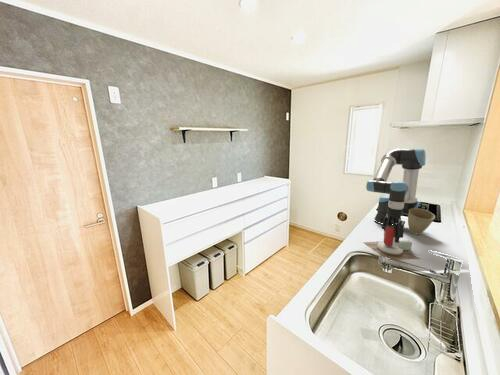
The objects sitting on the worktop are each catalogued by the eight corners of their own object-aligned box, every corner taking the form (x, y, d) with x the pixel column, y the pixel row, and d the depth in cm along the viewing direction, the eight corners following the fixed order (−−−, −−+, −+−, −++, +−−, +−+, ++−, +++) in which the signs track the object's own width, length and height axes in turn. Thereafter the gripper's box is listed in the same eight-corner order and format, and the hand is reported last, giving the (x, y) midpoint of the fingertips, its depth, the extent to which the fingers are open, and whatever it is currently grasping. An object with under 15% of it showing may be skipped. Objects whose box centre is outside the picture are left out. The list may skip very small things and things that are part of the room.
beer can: (391, 242, 127) (394, 224, 125) (399, 247, 120) (402, 228, 118) (381, 242, 126) (383, 224, 124) (388, 247, 120) (391, 228, 118)
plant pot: (404, 234, 151) (410, 216, 144) (402, 223, 162) (407, 206, 156) (430, 239, 144) (437, 221, 137) (425, 228, 156) (432, 210, 149)
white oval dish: (387, 255, 117) (388, 247, 116) (372, 244, 130) (373, 237, 129) (418, 254, 118) (420, 246, 118) (400, 244, 131) (402, 236, 130)
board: (362, 243, 134) (363, 233, 133) (391, 243, 136) (392, 233, 134) (386, 261, 113) (388, 249, 111) (420, 260, 114) (422, 248, 113)
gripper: (377, 203, 128) (373, 237, 133) (402, 213, 109) (396, 252, 113) (389, 203, 129) (384, 237, 133) (415, 212, 110) (409, 252, 114)
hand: (390, 244), depth 123 cm, fingers closed on beer can, 6 cm apart
